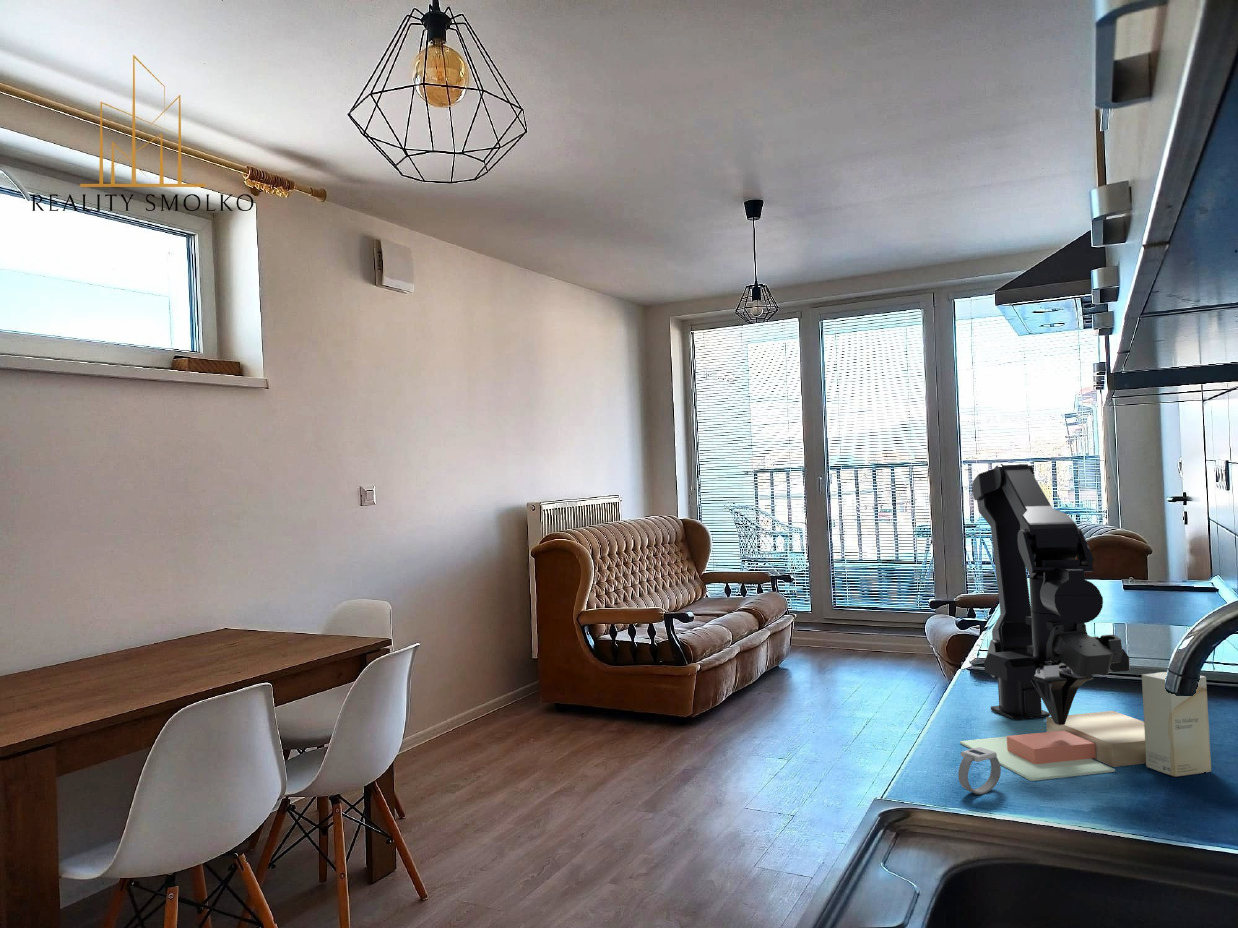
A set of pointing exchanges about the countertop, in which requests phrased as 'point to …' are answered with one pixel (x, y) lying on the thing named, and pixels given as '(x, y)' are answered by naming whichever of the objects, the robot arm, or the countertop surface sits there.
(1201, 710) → the skincare box
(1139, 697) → the countertop surface
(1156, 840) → the countertop surface
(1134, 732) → the board
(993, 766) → the wristwatch
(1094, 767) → the mat
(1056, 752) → the salmon pink brick
